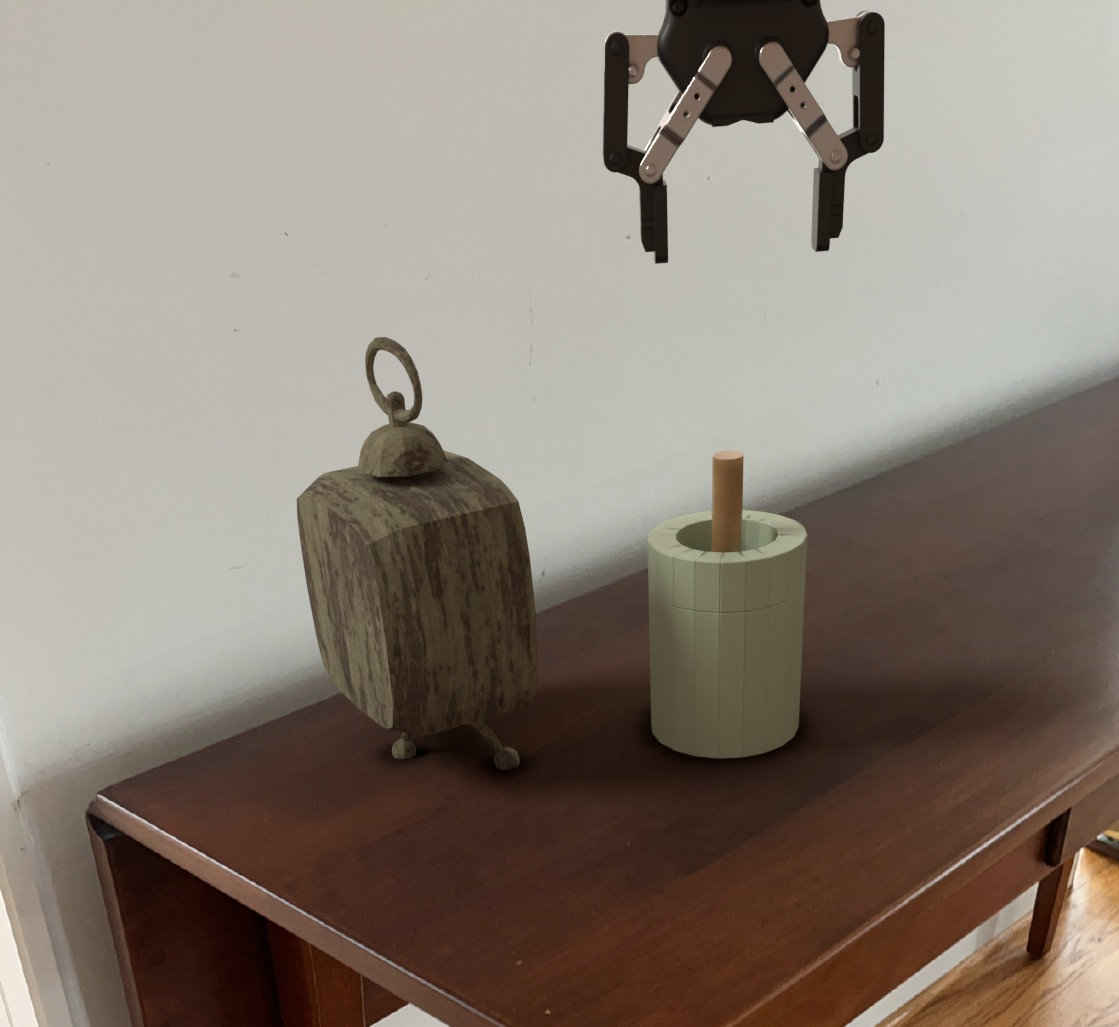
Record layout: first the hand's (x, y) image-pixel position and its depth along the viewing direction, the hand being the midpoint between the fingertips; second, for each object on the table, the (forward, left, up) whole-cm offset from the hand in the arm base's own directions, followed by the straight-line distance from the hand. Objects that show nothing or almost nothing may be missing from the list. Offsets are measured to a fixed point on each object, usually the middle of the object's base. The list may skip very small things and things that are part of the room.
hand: (739, 255), depth 76 cm
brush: (+1, 0, -27) cm, 27 cm away
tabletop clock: (+20, +2, -28) cm, 34 cm away
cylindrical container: (+1, +1, -28) cm, 28 cm away
